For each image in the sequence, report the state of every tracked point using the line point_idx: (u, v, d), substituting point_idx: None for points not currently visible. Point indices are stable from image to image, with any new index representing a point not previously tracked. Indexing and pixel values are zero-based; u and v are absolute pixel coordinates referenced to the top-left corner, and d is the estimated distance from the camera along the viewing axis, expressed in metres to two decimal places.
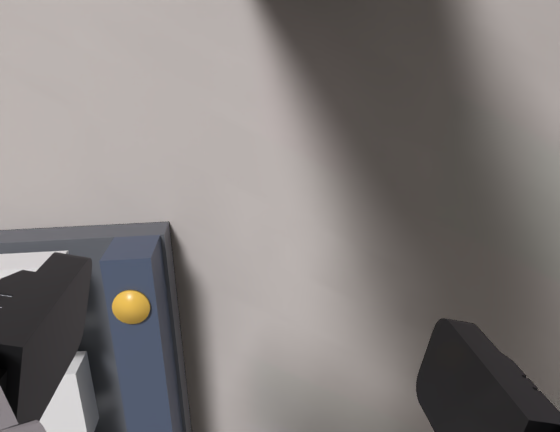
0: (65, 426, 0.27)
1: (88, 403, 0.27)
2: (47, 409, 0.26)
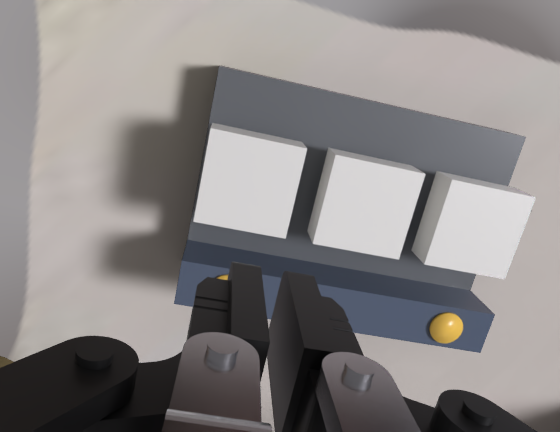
0: (343, 229, 0.25)
1: None
2: (369, 220, 0.25)
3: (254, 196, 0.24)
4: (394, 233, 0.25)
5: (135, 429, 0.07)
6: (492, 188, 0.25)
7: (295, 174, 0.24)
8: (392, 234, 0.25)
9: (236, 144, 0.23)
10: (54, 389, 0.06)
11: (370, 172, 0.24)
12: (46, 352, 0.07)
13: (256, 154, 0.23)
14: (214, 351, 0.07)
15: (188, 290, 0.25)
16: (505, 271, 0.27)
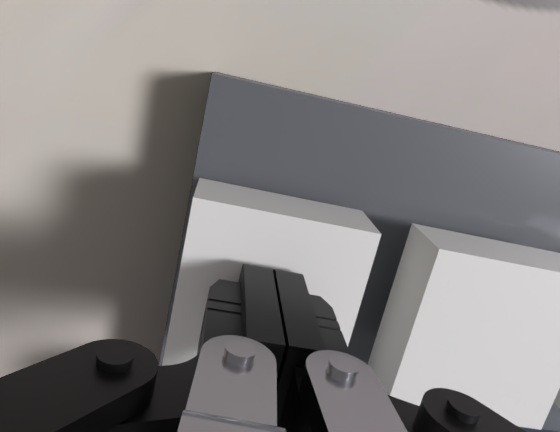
0: (445, 382, 0.13)
1: None
2: (494, 365, 0.13)
3: None
4: (537, 386, 0.13)
5: None
6: None
7: (356, 281, 0.12)
8: (534, 388, 0.13)
9: (244, 227, 0.12)
10: (76, 393, 0.06)
11: (503, 280, 0.12)
12: (68, 355, 0.07)
13: (283, 245, 0.12)
14: (231, 354, 0.08)
15: None
16: None
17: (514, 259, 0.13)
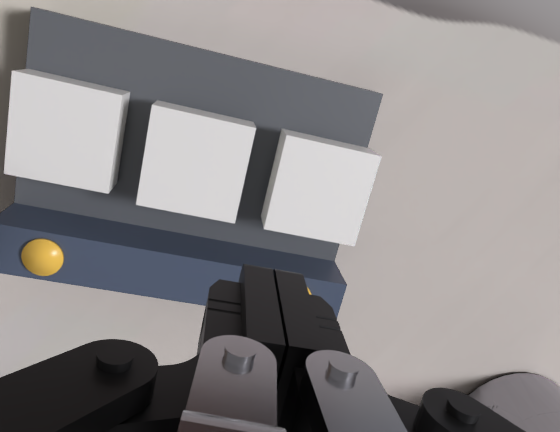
0: (169, 189, 0.23)
1: None
2: (197, 179, 0.23)
3: (69, 146, 0.22)
4: (227, 194, 0.23)
5: None
6: (332, 145, 0.23)
7: (112, 123, 0.22)
8: (225, 195, 0.23)
9: (42, 89, 0.22)
10: (76, 393, 0.06)
11: (193, 125, 0.22)
12: (67, 355, 0.07)
13: (66, 100, 0.22)
14: (232, 354, 0.08)
15: None
16: (355, 238, 0.25)
17: (203, 115, 0.22)
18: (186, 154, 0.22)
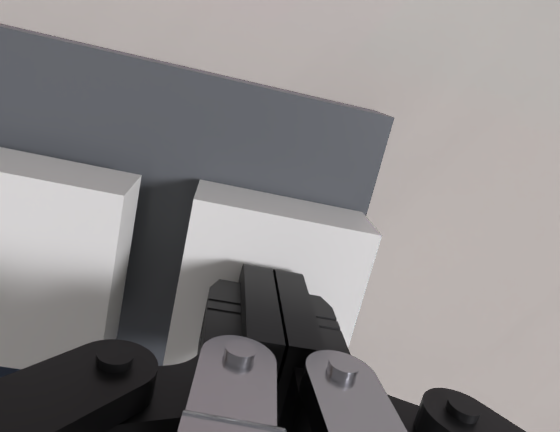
0: None
1: None
2: (10, 299, 0.11)
3: None
4: (75, 326, 0.11)
5: None
6: (286, 217, 0.12)
7: None
8: (71, 328, 0.11)
9: None
10: (76, 393, 0.06)
11: None
12: (67, 355, 0.07)
13: None
14: (232, 354, 0.08)
15: None
16: None
17: (15, 169, 0.11)
18: None
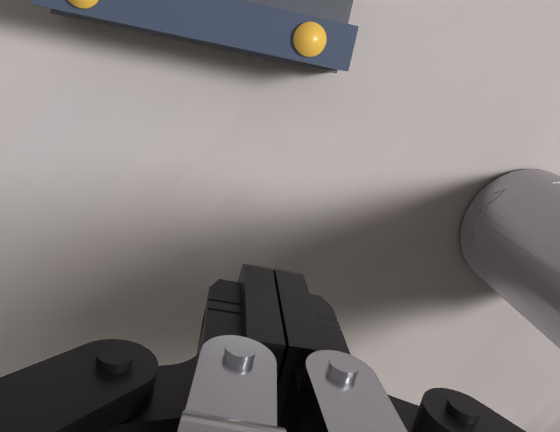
0: None
1: None
2: None
3: None
4: None
5: None
6: None
7: None
8: None
9: None
10: (76, 393, 0.06)
11: None
12: (67, 355, 0.07)
13: None
14: (231, 354, 0.08)
15: None
16: None
17: None
18: None
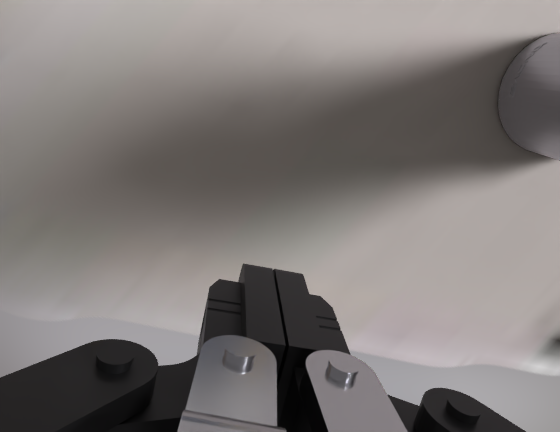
0: None
1: None
2: None
3: None
4: None
5: None
6: None
7: None
8: None
9: None
10: (76, 393, 0.06)
11: None
12: (67, 356, 0.07)
13: None
14: (231, 354, 0.08)
15: None
16: None
17: None
18: None
